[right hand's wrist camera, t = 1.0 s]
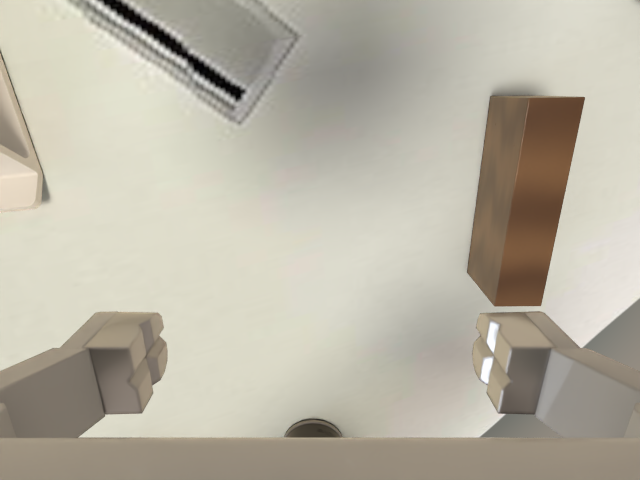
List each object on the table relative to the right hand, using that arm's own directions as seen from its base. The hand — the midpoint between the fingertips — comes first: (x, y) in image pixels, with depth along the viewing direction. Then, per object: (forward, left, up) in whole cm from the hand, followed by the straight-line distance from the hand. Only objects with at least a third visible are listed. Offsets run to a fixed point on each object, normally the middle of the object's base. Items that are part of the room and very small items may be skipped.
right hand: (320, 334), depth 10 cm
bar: (+6, +22, -39) cm, 45 cm away
